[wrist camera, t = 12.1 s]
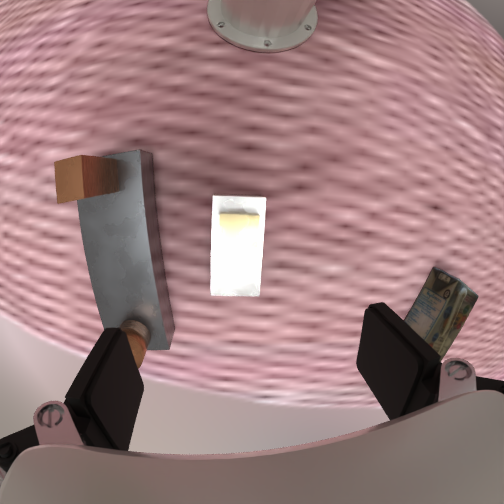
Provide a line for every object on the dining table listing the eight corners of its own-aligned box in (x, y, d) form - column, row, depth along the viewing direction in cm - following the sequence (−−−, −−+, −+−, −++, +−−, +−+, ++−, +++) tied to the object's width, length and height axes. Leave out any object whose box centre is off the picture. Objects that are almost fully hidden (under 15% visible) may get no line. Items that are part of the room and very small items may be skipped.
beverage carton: (457, 282, 35) (484, 297, 29) (396, 379, 39) (414, 402, 33) (432, 264, 34) (462, 279, 27) (365, 372, 37) (384, 399, 31)
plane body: (93, 164, 25) (31, 162, 14) (152, 153, 26) (110, 140, 15) (122, 329, 31) (89, 390, 20) (175, 328, 31) (158, 394, 20)
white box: (213, 193, 28) (212, 196, 24) (261, 195, 29) (268, 199, 25) (211, 284, 31) (210, 301, 27) (255, 285, 31) (261, 302, 27)
